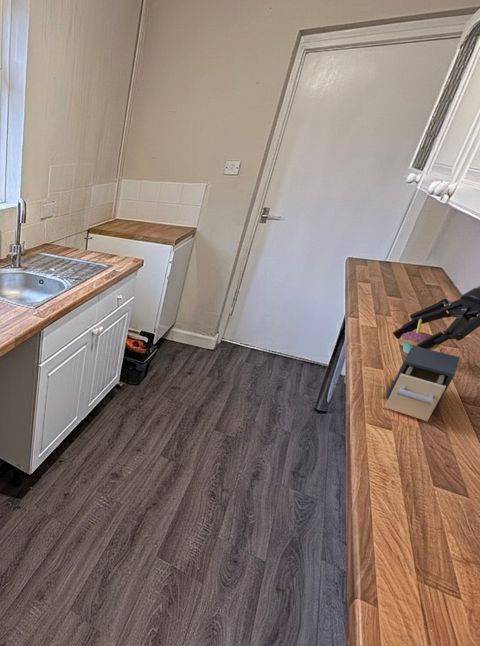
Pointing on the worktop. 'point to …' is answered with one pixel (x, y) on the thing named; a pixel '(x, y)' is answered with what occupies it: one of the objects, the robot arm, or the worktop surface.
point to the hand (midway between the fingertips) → (407, 341)
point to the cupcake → (415, 338)
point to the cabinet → (429, 365)
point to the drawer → (417, 392)
